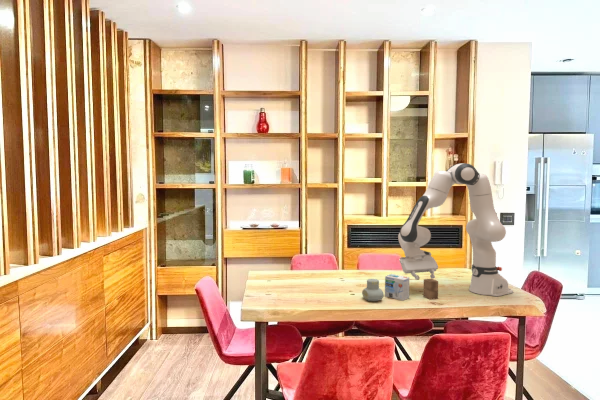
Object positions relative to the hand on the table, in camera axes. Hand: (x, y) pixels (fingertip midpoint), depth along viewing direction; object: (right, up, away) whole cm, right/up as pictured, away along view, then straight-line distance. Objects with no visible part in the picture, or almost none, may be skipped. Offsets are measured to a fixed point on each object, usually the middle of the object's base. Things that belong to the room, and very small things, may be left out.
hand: (425, 278), depth 195 cm
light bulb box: (-16, -9, -3) cm, 18 cm away
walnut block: (+1, -9, -4) cm, 10 cm away
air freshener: (-29, -9, -7) cm, 31 cm away
